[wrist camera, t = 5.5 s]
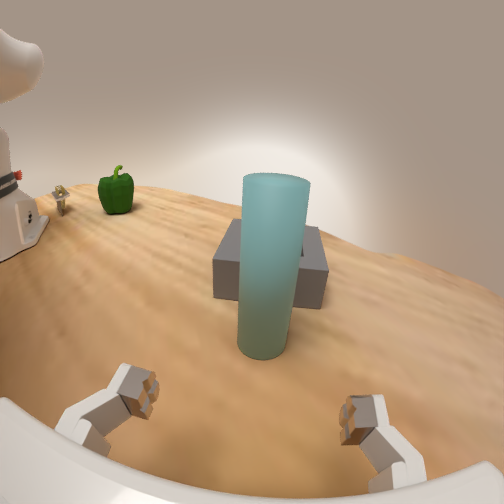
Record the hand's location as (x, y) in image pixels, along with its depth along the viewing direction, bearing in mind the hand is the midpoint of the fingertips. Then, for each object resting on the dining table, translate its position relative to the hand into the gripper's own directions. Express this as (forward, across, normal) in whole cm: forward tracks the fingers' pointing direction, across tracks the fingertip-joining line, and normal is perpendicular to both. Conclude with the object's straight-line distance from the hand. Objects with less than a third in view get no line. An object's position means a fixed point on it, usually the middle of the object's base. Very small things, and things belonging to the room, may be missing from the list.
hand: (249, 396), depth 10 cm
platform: (+41, +51, +10) cm, 67 cm away
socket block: (+24, 0, +9) cm, 26 cm away
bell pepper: (+43, +34, +9) cm, 56 cm away
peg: (+12, 0, +9) cm, 15 cm away
